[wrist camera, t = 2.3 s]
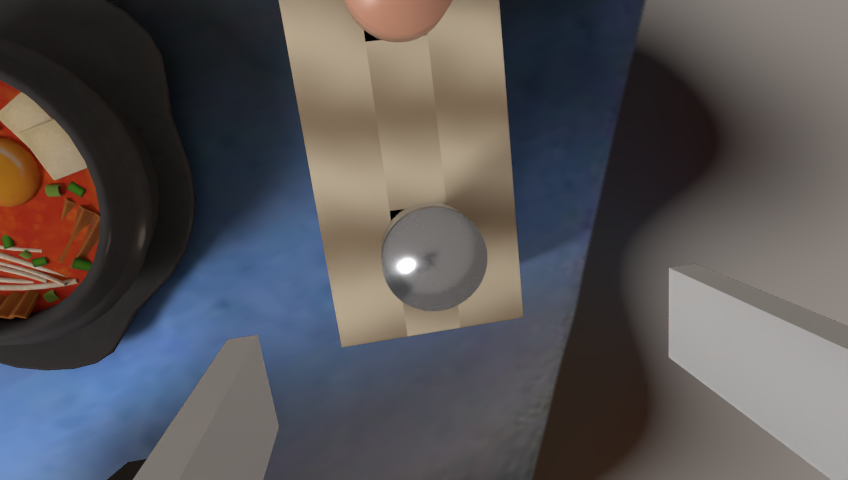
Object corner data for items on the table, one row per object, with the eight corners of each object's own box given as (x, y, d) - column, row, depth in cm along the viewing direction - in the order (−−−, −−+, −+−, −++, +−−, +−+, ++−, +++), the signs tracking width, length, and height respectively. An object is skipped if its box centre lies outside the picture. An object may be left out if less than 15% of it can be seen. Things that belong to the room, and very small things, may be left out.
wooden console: (489, 276, 36) (523, 317, 28) (347, 299, 35) (341, 347, 27) (457, -73, 30) (488, -143, 22) (285, -57, 29) (255, -125, 21)
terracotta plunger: (433, 61, 28) (466, 26, 19) (354, 70, 28) (347, 39, 18) (424, -27, 27) (453, -110, 18) (341, -19, 26) (326, -99, 17)
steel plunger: (454, 251, 31) (491, 302, 22) (383, 262, 30) (389, 319, 21) (447, 179, 30) (482, 201, 20) (372, 189, 29) (374, 216, 20)
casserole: (172, 378, 35) (113, 454, 27) (-113, 327, 32) (-280, 394, 23) (238, 37, 30) (190, 3, 22) (-90, -64, 27) (-288, -148, 19)
